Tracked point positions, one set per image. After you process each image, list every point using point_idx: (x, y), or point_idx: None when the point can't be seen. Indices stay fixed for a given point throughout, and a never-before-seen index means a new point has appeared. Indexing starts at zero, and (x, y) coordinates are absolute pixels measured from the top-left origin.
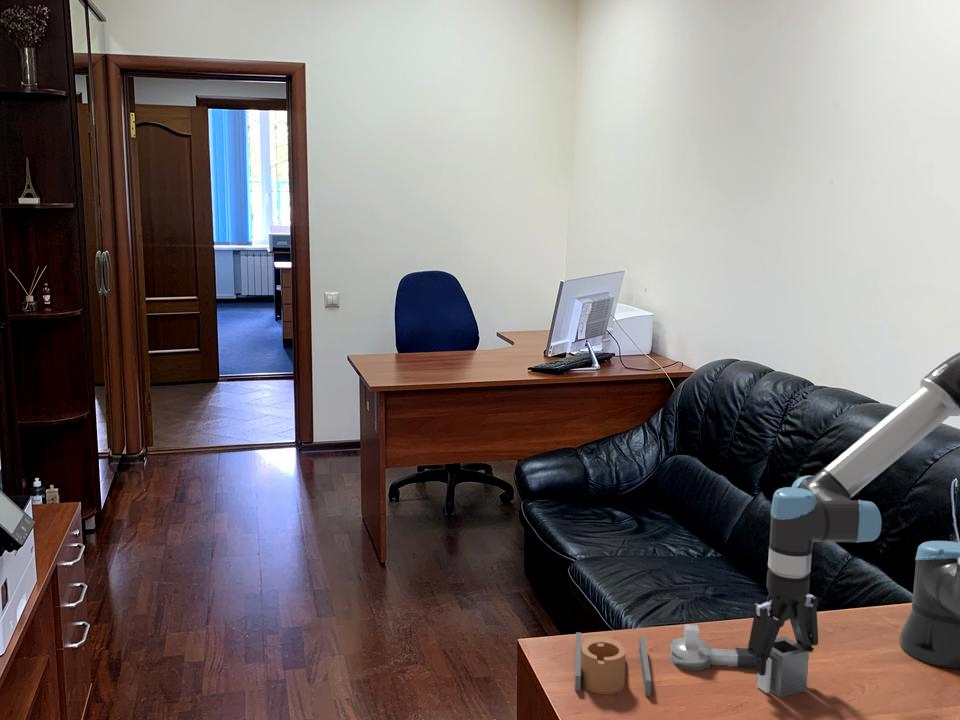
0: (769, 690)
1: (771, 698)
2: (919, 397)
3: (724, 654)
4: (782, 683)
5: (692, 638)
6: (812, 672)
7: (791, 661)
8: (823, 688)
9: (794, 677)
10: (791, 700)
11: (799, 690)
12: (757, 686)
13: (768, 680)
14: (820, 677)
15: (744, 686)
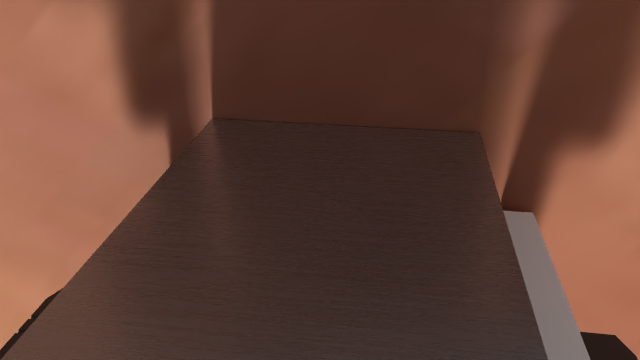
0: (506, 218)
1: (546, 152)
2: None
3: None
4: (470, 187)
5: None
6: (24, 261)
7: (358, 321)
8: (65, 90)
9: (319, 191)
10: (424, 63)
11: (275, 128)
12: None
13: (545, 273)
14: (6, 201)
15: None
